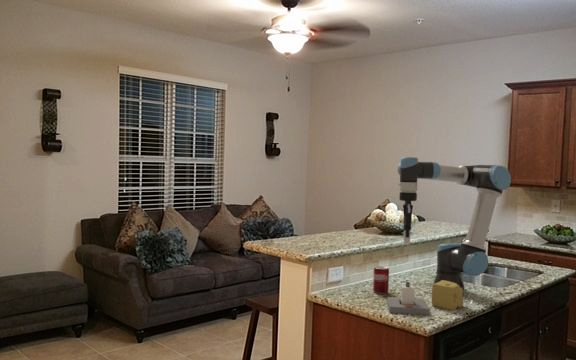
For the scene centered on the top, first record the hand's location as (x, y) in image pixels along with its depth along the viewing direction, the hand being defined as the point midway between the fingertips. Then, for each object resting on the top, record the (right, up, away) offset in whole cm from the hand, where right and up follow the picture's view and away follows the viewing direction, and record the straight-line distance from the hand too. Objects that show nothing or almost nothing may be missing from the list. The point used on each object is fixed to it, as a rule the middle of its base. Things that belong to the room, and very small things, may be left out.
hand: (406, 244), depth 229 cm
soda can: (-8, -26, +19) cm, 33 cm away
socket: (-2, -27, -8) cm, 28 cm away
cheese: (+17, -27, -2) cm, 32 cm away
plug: (-2, -26, -8) cm, 28 cm away
